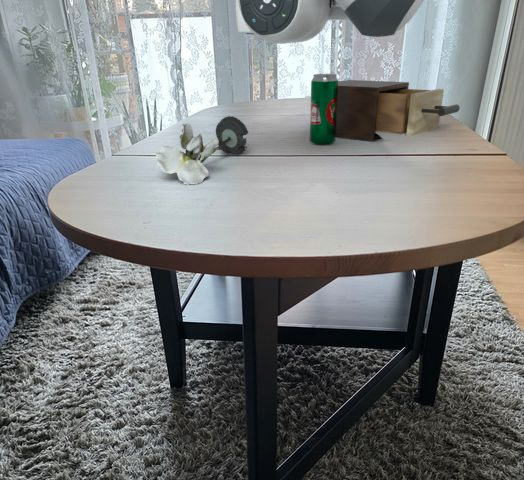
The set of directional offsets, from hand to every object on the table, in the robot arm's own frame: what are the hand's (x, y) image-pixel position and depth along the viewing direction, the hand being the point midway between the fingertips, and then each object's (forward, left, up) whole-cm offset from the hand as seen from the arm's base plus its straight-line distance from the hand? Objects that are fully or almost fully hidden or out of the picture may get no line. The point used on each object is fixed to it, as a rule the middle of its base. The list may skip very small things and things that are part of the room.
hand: (315, 7), depth 79 cm
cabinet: (-12, -21, -22) cm, 33 cm away
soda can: (-4, -12, -22) cm, 25 cm away
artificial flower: (+18, +8, -22) cm, 29 cm away
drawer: (-20, -14, -21) cm, 32 cm away
